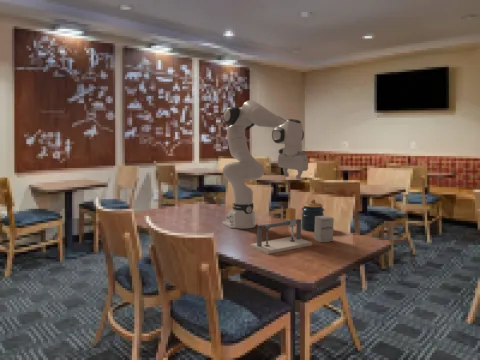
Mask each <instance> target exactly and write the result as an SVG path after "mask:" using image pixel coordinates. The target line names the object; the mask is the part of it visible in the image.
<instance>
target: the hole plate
mask: <svg viewBox="0 0 480 360" xmlns="http://www.w3.org/2000/svg"><path fill="white" fill-rule="evenodd" d="M301 224H302V218H296V227H295V228H296V230H295V231H296V235H293V240H292V239H291V236H287V237H283V238H275V239H271V240H269V230H270V229H271V228H276V227H282V226H283V227H284V226H285V225H288V226H289V221H279V222H272V223H265V224H258V225H257V224H256V225H257V226H256V227H257V228H256V230H257V231H256V242H254V243H250V245H249V247H250V248H252V249H254V250H257V251H259V252H261V253H264V254H267V255H270V254H271V255H272V254H274V253H275V254H276V253H281V252H285V251H290V250H295V249H300V248H304V247H308V246H313V242H312V241H309V240H306V239H304V238H302V226H301ZM263 230H266V231H265V232H266V233H265V236H266V237H265V239H266V240H265V241H263V239H262V238H263V235H262V234H263Z"/></svg>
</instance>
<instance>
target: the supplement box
mask: <svg viewBox="0 0 480 360" xmlns="http://www.w3.org/2000/svg"><path fill="white" fill-rule="evenodd" d="M334 221H335V219H334V217H331V216H329V215H324V216H315V231H313V232H314V241H317V242H318V241H319V242H318V243H320V242H321V243H327V242H328V243H331V242H330V241H334V224H335V223H334Z"/></svg>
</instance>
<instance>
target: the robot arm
mask: <svg viewBox="0 0 480 360" xmlns="http://www.w3.org/2000/svg"><path fill="white" fill-rule="evenodd" d="M222 118H223V121H224V123H225V124H227V125H228V127H227V129H226V137H227V144H228V148H229V152H230V155H231V157H232V158H234V159H236V160H237V161H233V162H229V163H226V164H225V165H224V167H223V168H222V169H223V170H222V174H223V177H224V178H225V180H227V181H228V182H229V183H230V185H231V186H232V189H233V195H234V196H233V198H234V199H233V200H234V203H232V209H231V210H230V211H229V212H228V213H226V220H224V221H222V224H223V225H225V226H226V227H228V228H230V229H241V230H242V229H252V228H255V227H256V225H257V224H258V223H257V222H256V215H255V210H254V207H255V206H254V202H253V201H254V197H253V196H254V194H253V193H254V192H253V190H252V188H251V187H249V186H247V185H246V183H245V181H251V180H252V181H253V180H257V179H260V178H262V176H263V175H264V170H265V169H264V165H263V164H262V163H261V162H260V161H258V160H257V159H255V157H254V156H253V155H252V154H251V152H250V150H249V147H248V143H247V139H246V136H245V130H246V131H249V130H250V129H251V128H253V127H254V126H258V127H262V128H272V132H271V138H272V140H273V142H274V143H275V144H279V145H284V147H282V148H280V149H278V151H277V153H278V158H277V166H278V168H282V171H283V174H284V177H285V178H288V177H289V176H290V173H289V172H288V170H295V171H297V175H296V176H295V179H297V180H301V178H302V177H301V176H302V174H303V172H307V171H308V170H309V159H308V155H307V152H305V151H303V142H302V141H303V140H304V137H305V133H304V130H303V123H302V121H301V120H299V119H295V118H288V119H287V120H285V119H284V118H282V117H281V116H278V115H277V114H276V113H274V112H273V111H270V110H269V109H267V108H266V107H264V105H262V104H260V103H258V102H256V101H255V100H250V99H249V100H246V101H245V102H244V103H243V104H242V106H241V107H238V106H231V107H227V108H225V109H224V112H223V117H222Z"/></svg>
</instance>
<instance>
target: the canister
mask: <svg viewBox="0 0 480 360" xmlns="http://www.w3.org/2000/svg"><path fill="white" fill-rule="evenodd" d="M301 210H302V212H301V230H303V231H308V232H315V216H325V214H324V211H325V208H323V203H321V202H317V201H316V200H315V199H313V198H312V199H311V200H310V201H307V202H305V203H303V207H302V208H301Z"/></svg>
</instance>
